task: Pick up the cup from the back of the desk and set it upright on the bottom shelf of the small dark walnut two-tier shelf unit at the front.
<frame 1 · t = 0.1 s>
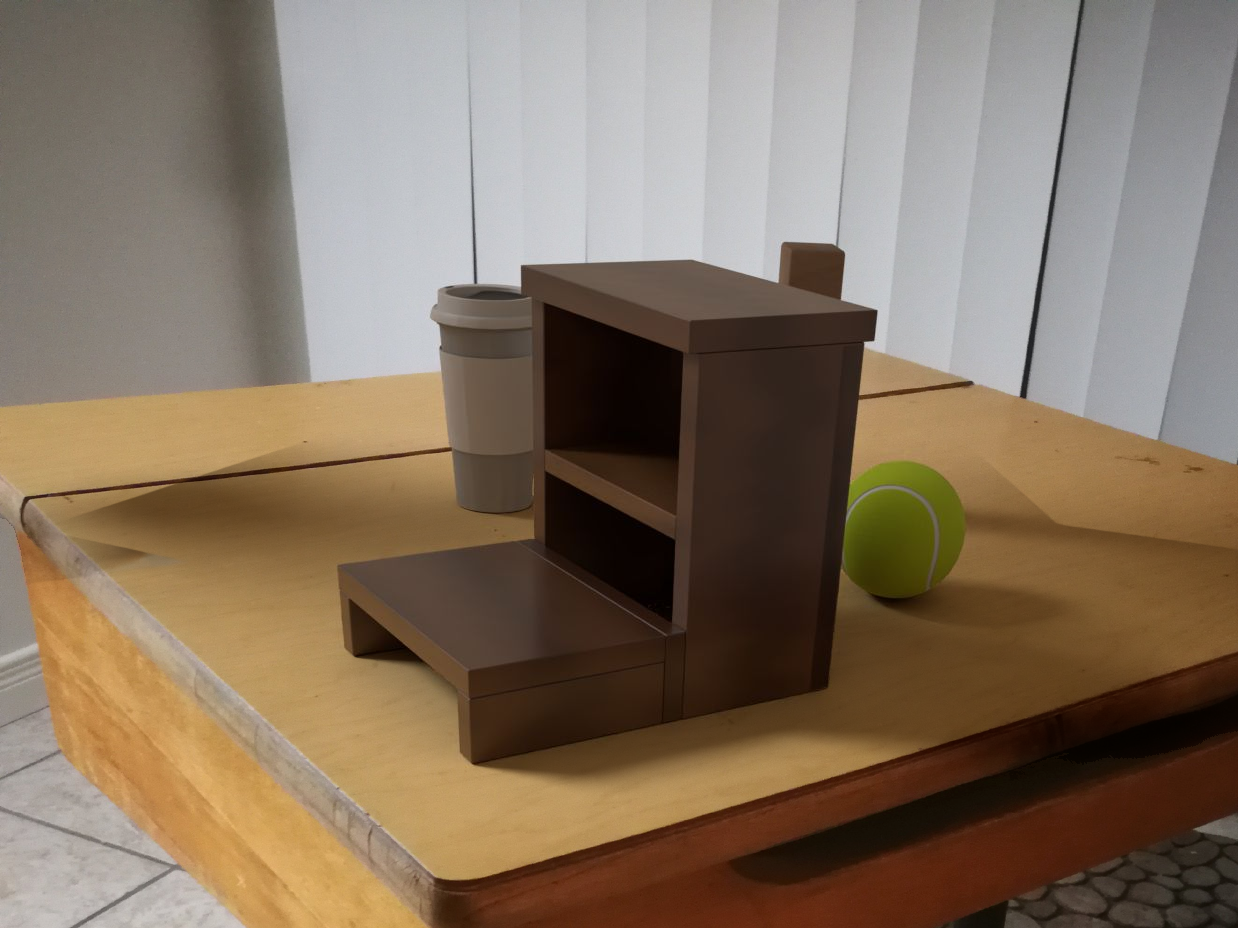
tennis ball: (889, 598, 78), on the table
wooden block: (786, 499, 93), on the table
cup: (494, 505, 89), on the table
shelf: (584, 667, 67), on the table
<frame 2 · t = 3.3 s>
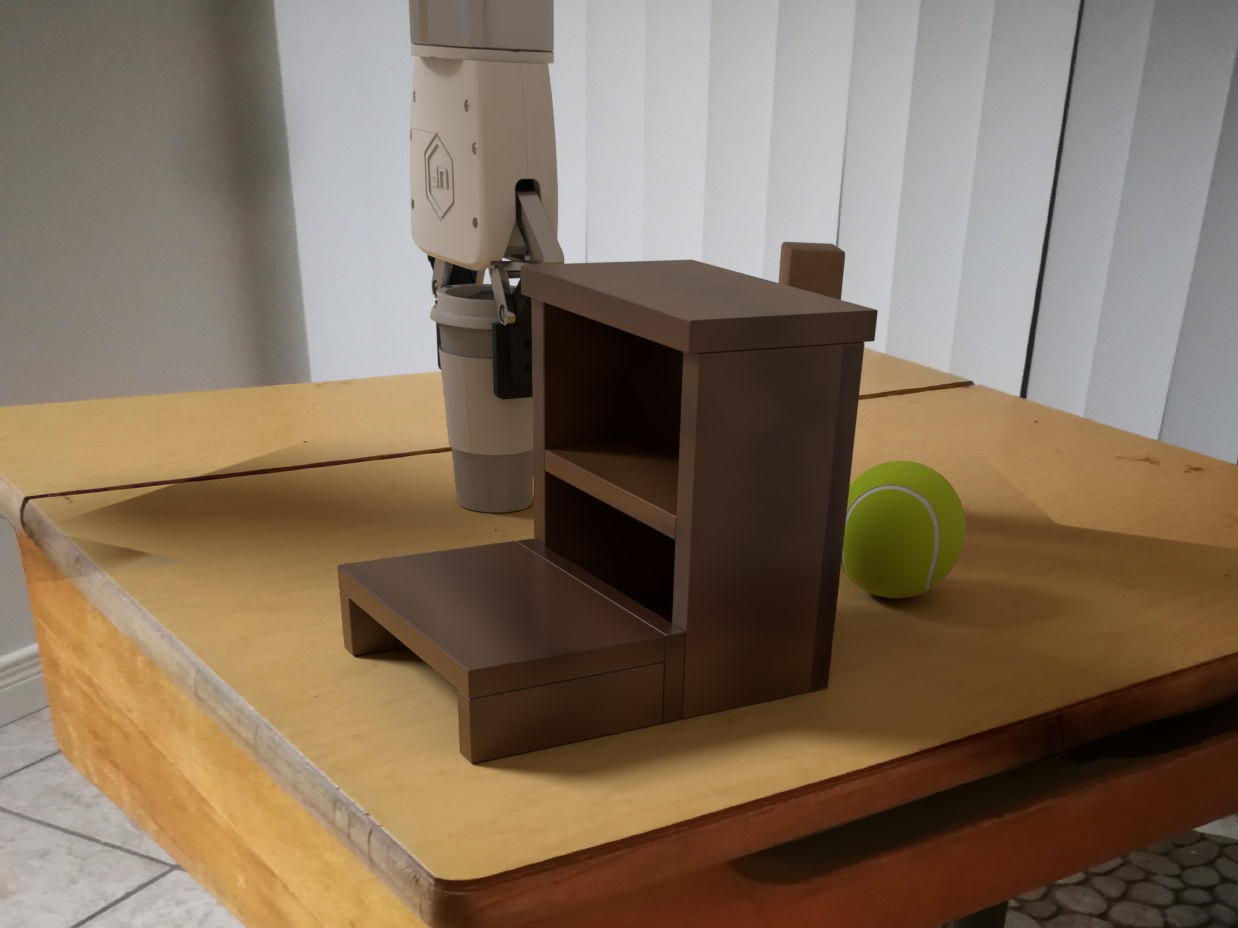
hand: (491, 380, 85), 7 cm above the table, tool pointing down, fingers closed on cup, 6 cm apart
cup: (494, 505, 89), on the table, touching gripper
everything else where it was.
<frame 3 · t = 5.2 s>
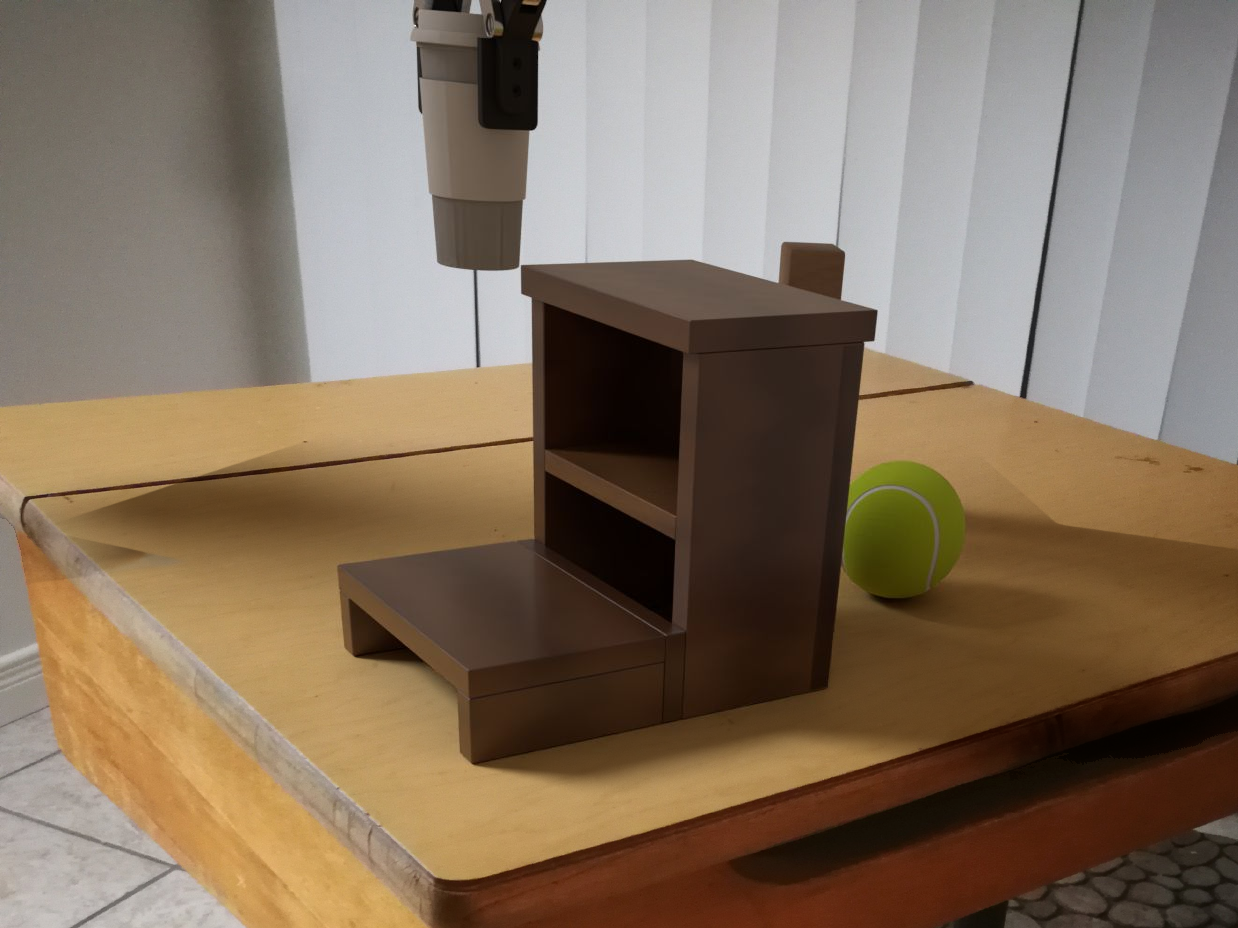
hand: (476, 119, 77), 21 cm above the table, tool pointing down, fingers closed on cup, 6 cm apart
cup: (478, 268, 81), point 13 cm above the table, touching gripper
everything else where it was.
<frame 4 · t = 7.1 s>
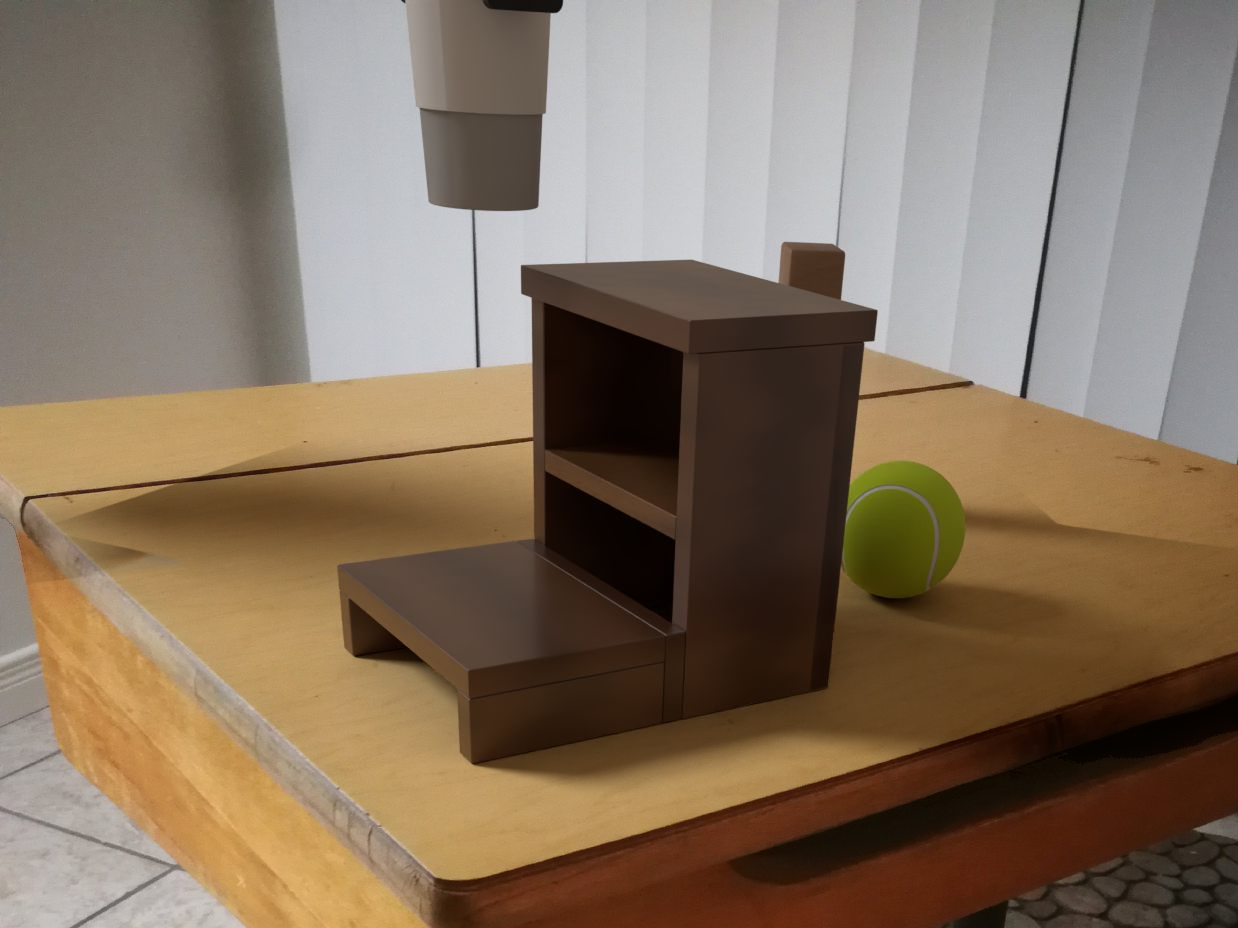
hand: (477, 4, 57), 26 cm above the table, tool pointing down, fingers closed on cup, 6 cm apart
cup: (483, 209, 61), point 18 cm above the table, touching gripper
everything else where it was.
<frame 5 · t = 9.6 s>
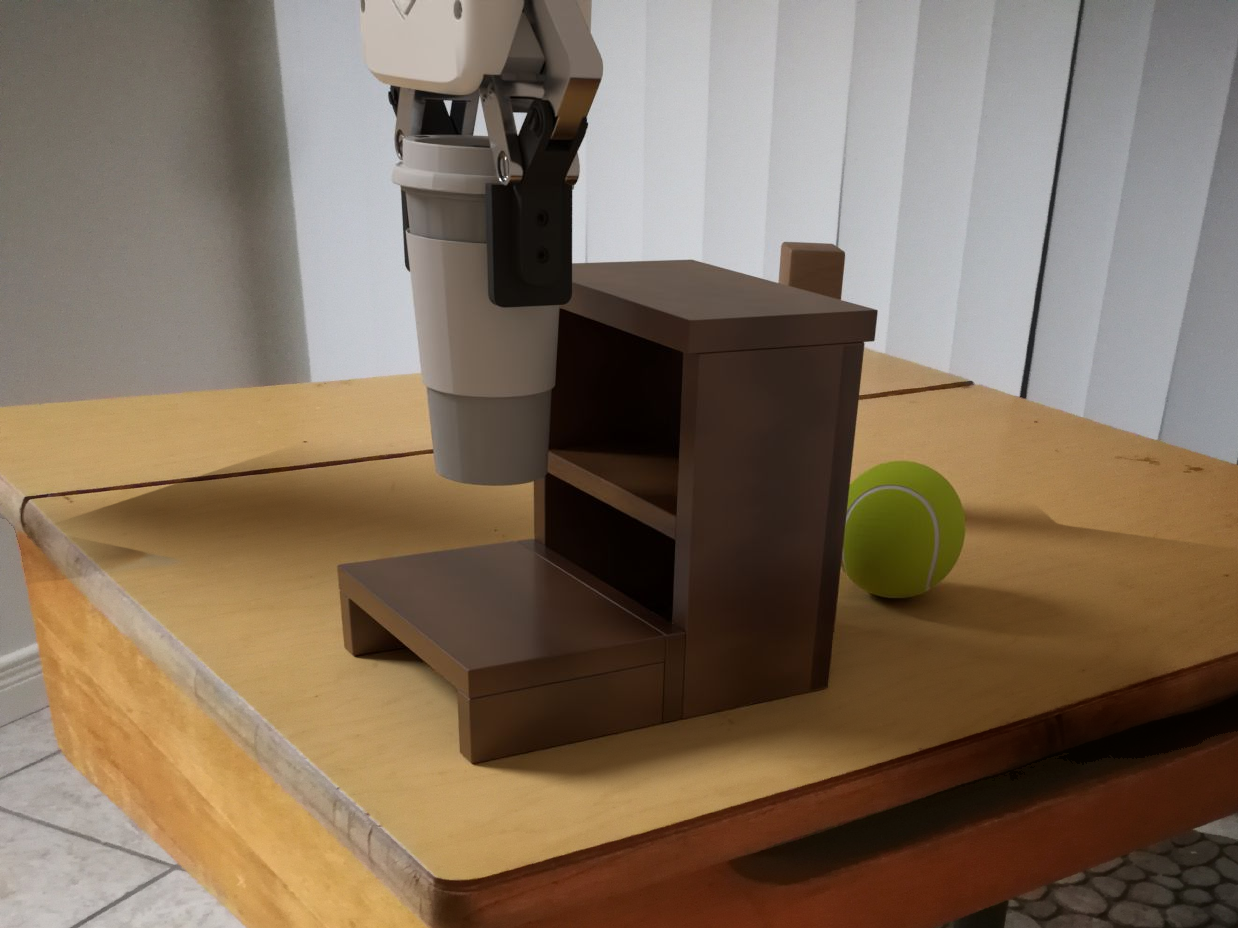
hand: (485, 284, 56), 17 cm above the table, tool pointing down, fingers closed on cup, 6 cm apart
cup: (491, 475, 60), point 9 cm above the table, touching gripper
everything else where it was.
when the fingers open (11 cm above the table, at t = 11.4 s): cup stays where it is, resting on shelf.
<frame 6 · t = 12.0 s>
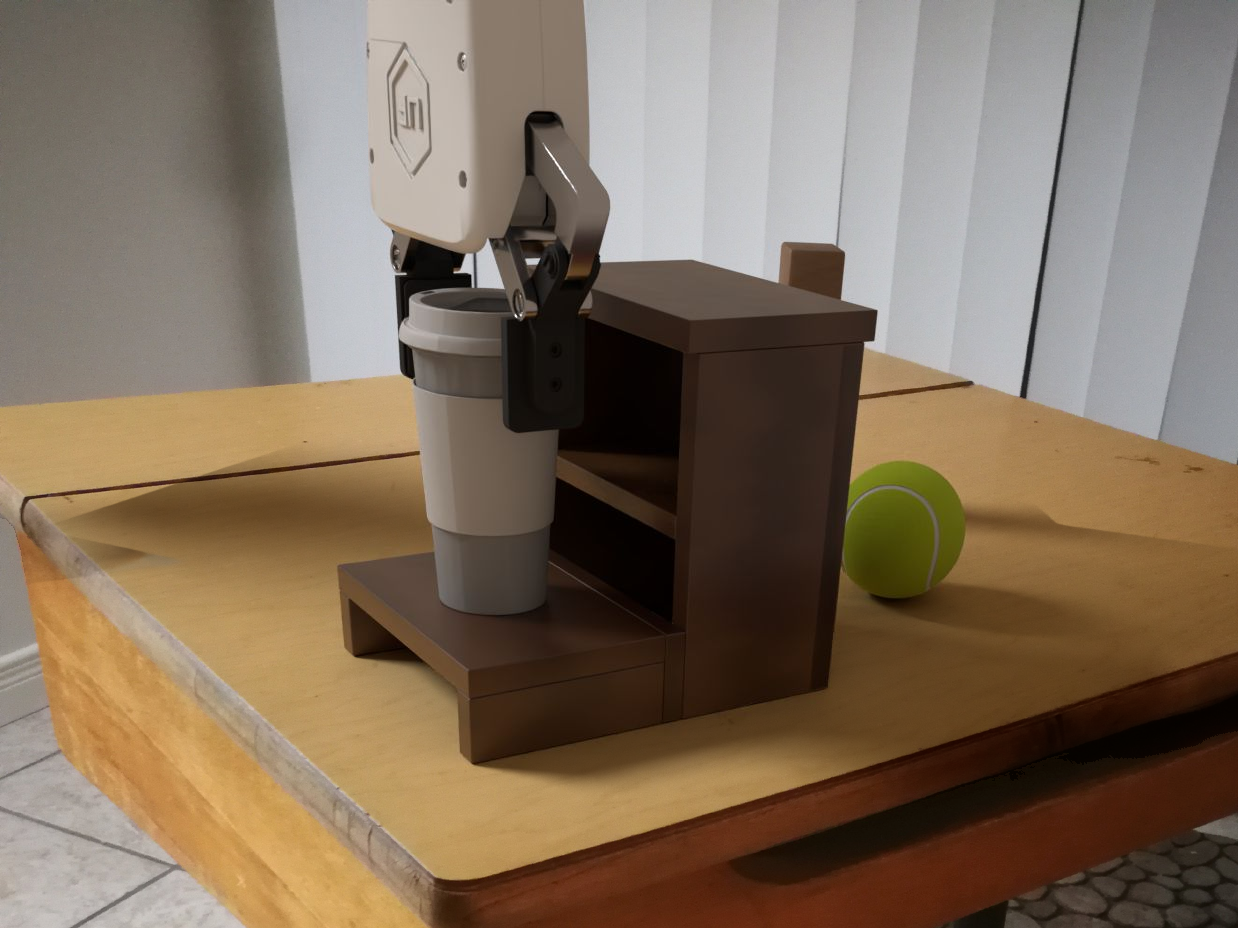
hand: (487, 401, 58), 12 cm above the table, tool pointing down, fingers open, 9 cm apart
cup: (493, 601, 62), point 4 cm above the table, touching shelf
everything else where it was.
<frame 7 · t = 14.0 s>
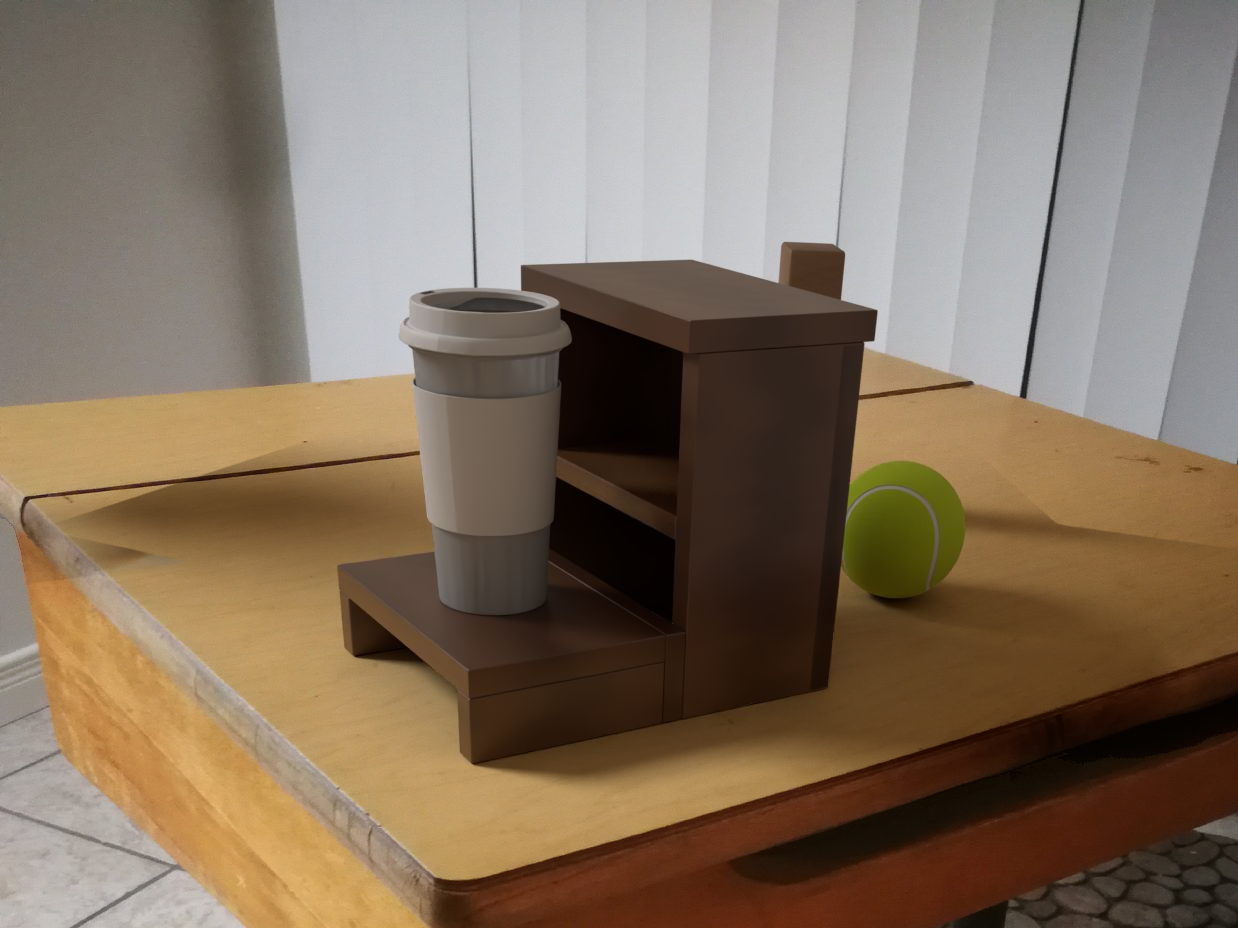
nothing on the table moved.
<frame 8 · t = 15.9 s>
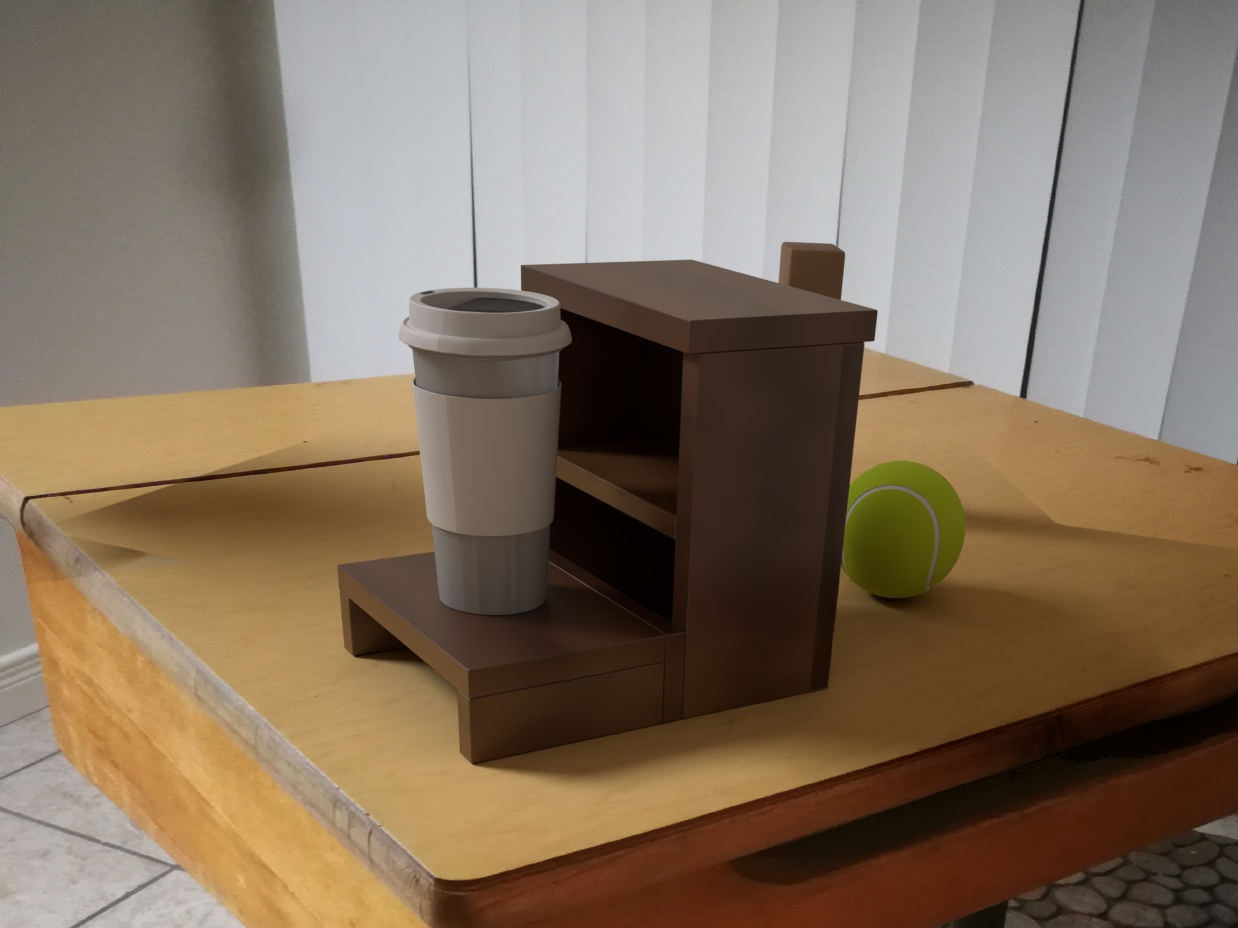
nothing on the table moved.
at the end: cup inside the target area on the shelf (0.3 cm from its centre), point 3.8 cm above the shelf's base; cup tilted 0°; the gripper is holding nothing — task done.
